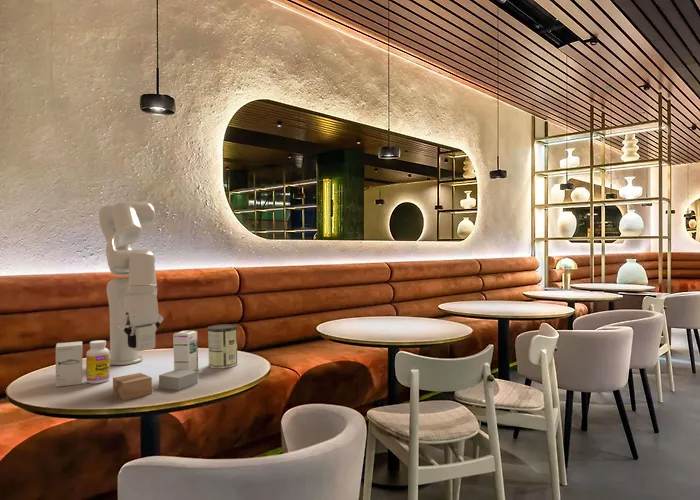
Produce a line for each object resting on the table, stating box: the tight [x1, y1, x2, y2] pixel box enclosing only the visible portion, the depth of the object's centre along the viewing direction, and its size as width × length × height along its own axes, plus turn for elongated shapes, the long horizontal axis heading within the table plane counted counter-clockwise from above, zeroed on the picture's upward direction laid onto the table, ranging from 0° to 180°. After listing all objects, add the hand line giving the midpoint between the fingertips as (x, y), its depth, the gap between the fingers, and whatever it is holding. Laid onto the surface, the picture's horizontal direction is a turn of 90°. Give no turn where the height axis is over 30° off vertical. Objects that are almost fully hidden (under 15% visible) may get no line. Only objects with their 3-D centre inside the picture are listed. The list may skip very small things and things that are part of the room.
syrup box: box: [172, 330, 199, 373], centre depth 164 cm, size 6×6×14 cm
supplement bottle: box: [85, 339, 111, 384], centre depth 157 cm, size 7×7×13 cm
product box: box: [128, 325, 156, 352], centre depth 158 cm, size 6×6×7 cm
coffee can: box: [207, 323, 238, 369], centre depth 177 cm, size 10×10×14 cm
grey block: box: [158, 369, 199, 391], centre depth 152 cm, size 8×8×4 cm
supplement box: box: [55, 341, 83, 388], centre depth 155 cm, size 7×7×13 cm
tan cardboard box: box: [112, 372, 153, 401], centre depth 143 cm, size 8×8×5 cm
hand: (141, 344), depth 158 cm, fingers closed on product box, 6 cm apart
